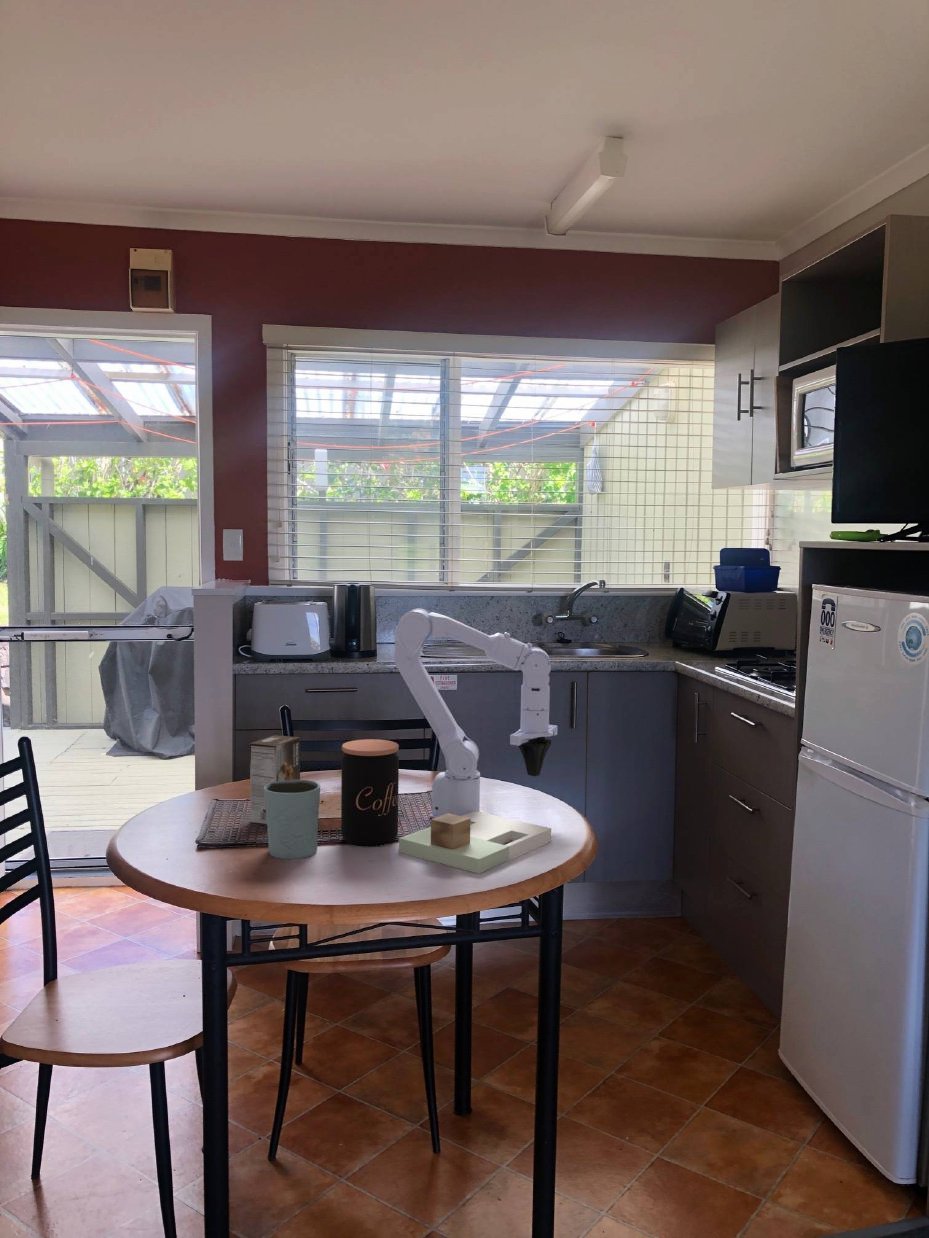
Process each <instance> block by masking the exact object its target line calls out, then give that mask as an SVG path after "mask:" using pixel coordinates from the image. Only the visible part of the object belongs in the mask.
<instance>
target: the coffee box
mask: <svg viewBox="0 0 929 1238" xmlns="http://www.w3.org/2000/svg"><path fill="white" fill-rule="evenodd" d="M300 741H301V737H300V736H288V735H287V736H286V735H276V734H275V735H271V736H268V737H265V738H264V737H263V739H259V740H257V741H253V742H250V743H249V758H250V759H249V770H250V772H249V773H250V775H249V776H250V777H249V780H250V781H249V782H250V783H249V786H250V789H249V790H250V793H249V794H250V805H249V806H250V822H251V823H256V824H263V825H267V820H266V805H265V799H264V789H263V788H264V786H265V785H267V784H269V783H273V782H277V781H283V780H301V742H300Z"/></svg>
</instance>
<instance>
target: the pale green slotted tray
mask: <svg viewBox="0 0 929 1238" xmlns="http://www.w3.org/2000/svg"><path fill="white" fill-rule="evenodd" d="M462 816H463V817H467V818H471V820H470V843H469V844H467V845H464V846H462V847H459V848H457V849H454V850H451V849H447V848H443V847H439V846H436V845H432V844H431V826H429V827H426V828H423V829H420V830H418V831H415V832H412V833H410V834H407V835H403V836H401V837H398V852H399V853H403V854H404V855H405V854H406V855H410V856H413V857H417V858H420V859H423V860H424V859H425V860H428V861H431V862H436V863H439V864H443V865H446V866H449V867H454V868H457V869H461V870H464V871H469V872H472V873H475V874H479V875H480V874H481V873H484V872H485V871H488V870H490V869H493V868H495V867H496V866H499V865H501V864H503V863H506V862H508V861H510V860H513V859H515V858H518V857H520V856H521V855H524V854H525V853H528V852H530V851H532V850H534V849H537V848H539V847H542V846H544V845H546V844H548V843H550V842H552V828H551V827H548V826H543V825H538V824H535V823H530V822H525V821H521V820H517V819H513V818H507V817H503V816H498V815H494V814H490V813H489V814H488V813H485V812H477V811H473V812H471V813H468V814H465V815H462Z"/></svg>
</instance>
